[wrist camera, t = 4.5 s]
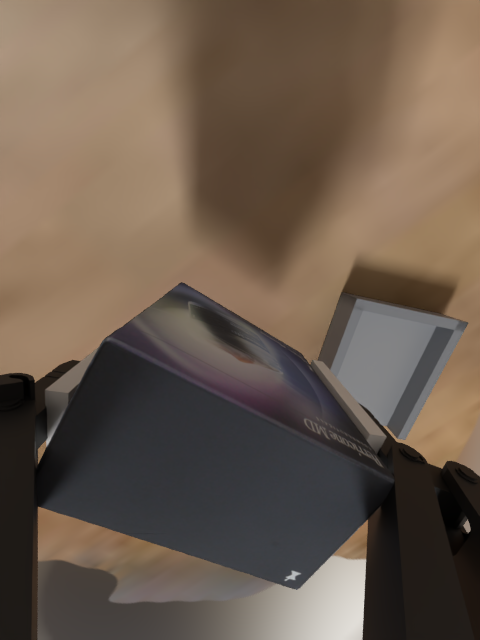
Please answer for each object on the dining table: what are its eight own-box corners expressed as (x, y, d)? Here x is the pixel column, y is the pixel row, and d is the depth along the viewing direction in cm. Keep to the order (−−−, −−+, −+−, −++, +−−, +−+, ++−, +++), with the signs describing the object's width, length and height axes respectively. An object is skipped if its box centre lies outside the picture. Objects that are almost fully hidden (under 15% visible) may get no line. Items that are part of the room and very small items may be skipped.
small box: (307, 350, 17) (419, 488, 7) (259, 412, 19) (299, 599, 9) (181, 275, 15) (100, 329, 5) (138, 352, 17) (9, 512, 7)
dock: (288, 442, 31) (294, 464, 28) (341, 292, 25) (357, 298, 22) (370, 455, 32) (385, 476, 29) (440, 313, 26) (468, 322, 23)
